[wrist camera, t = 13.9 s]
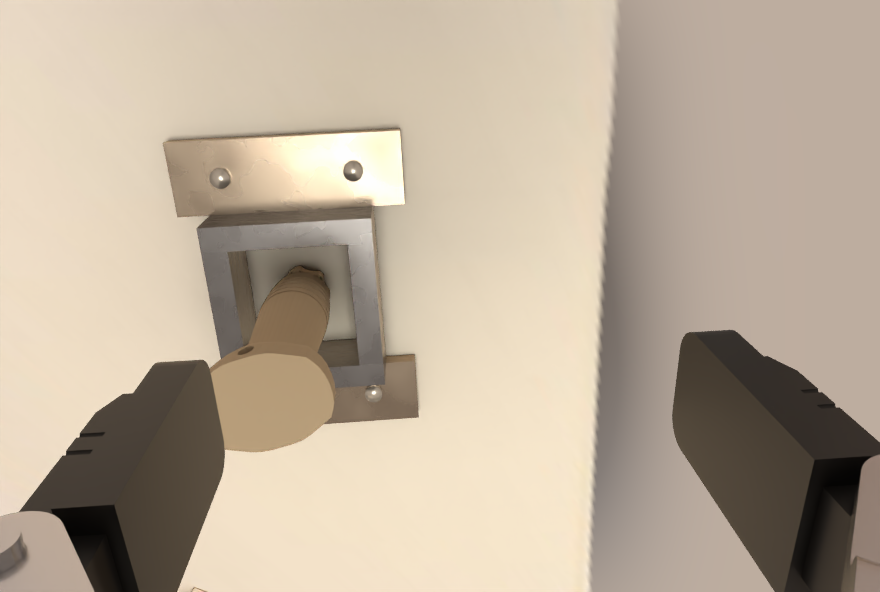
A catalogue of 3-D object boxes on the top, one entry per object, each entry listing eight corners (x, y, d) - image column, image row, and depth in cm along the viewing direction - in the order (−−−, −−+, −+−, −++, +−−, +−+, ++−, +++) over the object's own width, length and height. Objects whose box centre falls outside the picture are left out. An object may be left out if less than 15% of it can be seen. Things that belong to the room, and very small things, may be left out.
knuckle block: (168, 140, 39) (144, 151, 36) (399, 128, 40) (400, 137, 36) (223, 423, 47) (208, 456, 43) (418, 409, 47) (419, 441, 44)
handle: (363, 305, 44) (347, 428, 30) (273, 331, 44) (217, 465, 30) (339, 239, 42) (311, 338, 28) (246, 267, 43) (172, 379, 29)
